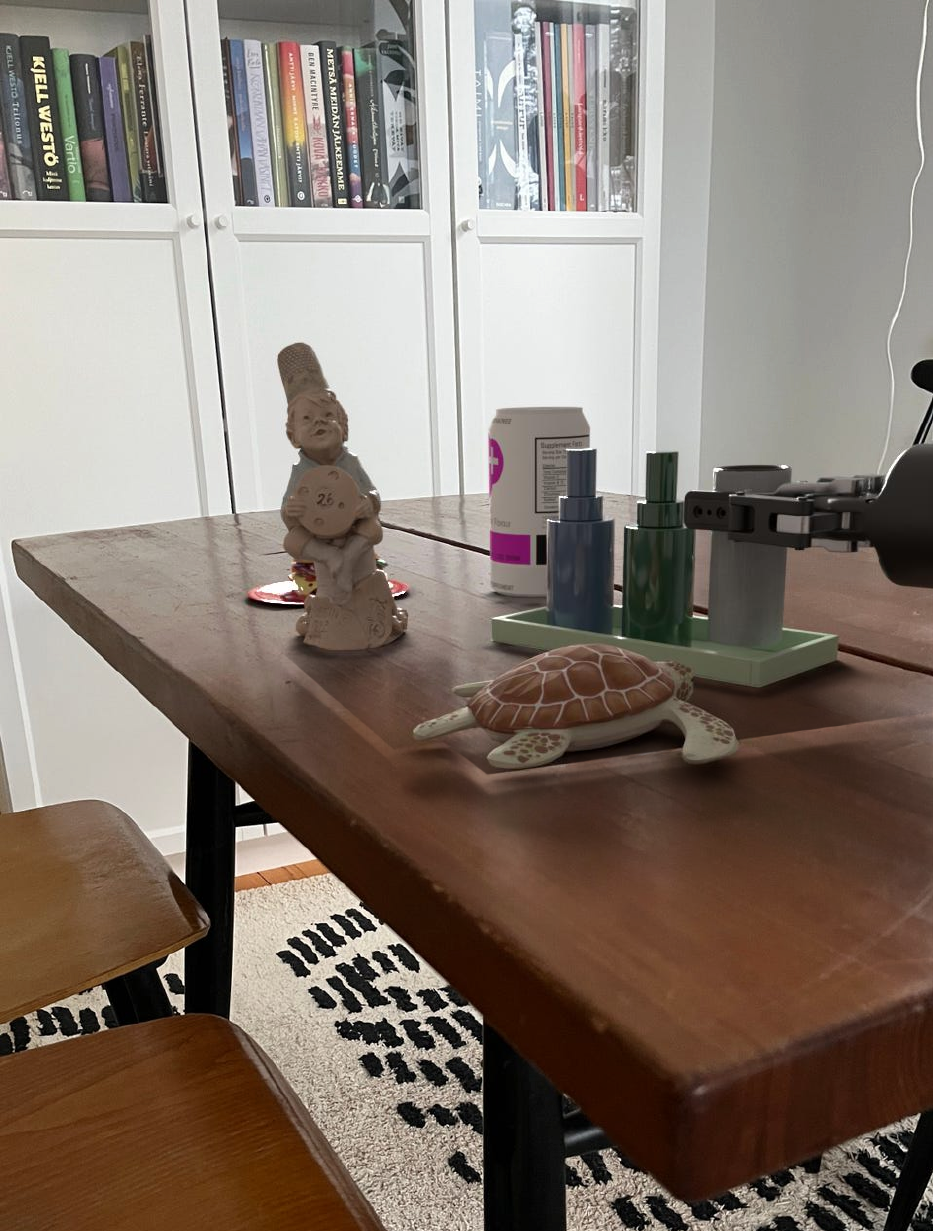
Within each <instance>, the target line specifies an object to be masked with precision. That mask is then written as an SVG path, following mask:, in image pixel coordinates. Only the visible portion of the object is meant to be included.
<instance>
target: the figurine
mask: <svg viewBox="0 0 933 1231" xmlns="http://www.w3.org/2000/svg"><path fill="white" fill-rule="evenodd" d="M276 359H277V361H276V362H277V368H278V372H279V373H278V374H279V376H280V381H281V384H282V387H283V391H284V394H285V398H286V404H287V408H286V415H287V419H286V422H285V427H286V429H285V435H286V437H287V440H288V441H289V443H290V444H291V446H292V447H293V448H294V449H295V450H297V449H299V451H298V452H297V454H298V457H299V461H298V462H296V463H293V464H292V465H291V472H290V477H289V480H288V484H287V486H286V490H285V492H284V495H283V496H282V500H281V506H280V510H279V514H280V518H281V520H282V522H283V524H284V525H285V527H286V529H287V530H288V532H287V533H286V534H285V536H284V538H283V543H282V547H283V549H284V551H285V552H286V554H288V555H289V556H290V557H291V558H292V559H294V558H295V559H303V560H308V561H312V562H313V561H314V566H315V572H316V577H317V578H316V583H317V586H316V587H317V592H316V595H315V596H311V595H308V596H307V597H306V599H305V601H304V604H303V607H304V611H305V612H306V613H303V614H301V615H300V616H299V618H298V619H297V621H296V623H295V632H296V633H297V634H299V635H300V636H301V637H304V639H303V643H304V644H307V645H310V646H316V647H319V648H321V649H325V650H330V651H332V650H333V651H349V650H351V651H352V650H355V651H356V650H367V649H374V648H375V649H376V648H379V647H381V646H385V645H388V644H390V643H392V642H393V641H395V640H396V639H397V638H399V637H400V636H401V635H403V634H404V631H406V630H408V622H409V613H408V611H407V609H406V608H400V607H398V606H397V603H396V600H395V596H393V594H392V591H391V588H390V584H389V582H388V581H387V580H386V577H385V574H384V573H385V572H384V569H383V570H377V567H376V560H375V553H374V550H375V546H377V545H379V544H380V543H382V541H383V538H384V530H383V527H382V525H381V523H380V522H381V518H380V515H379V513H380V512H381V510H382V509H381V508H382V499H381V495H380V493H379V491H378V489H377V487H376V486H375V484H374V483H373V481H372V480H371V478H370V476H369V474H368V473H367V471H366V470H365V468H364V467H363V465H362V463H361V460H360V459H359V456H358V454H356V453H355V454H354V453H353V452H351V451H349V450H348V449H349V447H348V446H347V445H346V444H345V443H346V442H348V441H349V423H348V422H349V416H348V414H347V413H346V409H345V408H344V405H342V403H341V402H340V400H338V399H337V394H336V393H335V392H334V391H333V390H332V389H331V387H330V385H329V383H328V380H327V378H326V375H325V373H324V371H323V368H322V365H321V363H320V361H319V358H318V356H317V354H316V352H315V350H314V348H313V347H312V345H311V344H309V343H306V342H302V341H301V342H294V343H291V344H289V345H287V346H285V347H283V348H282V349H281V350H280V351H279V352H278V354H277V358H276Z"/></svg>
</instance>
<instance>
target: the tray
mask: <svg viewBox="0 0 933 1231" xmlns="http://www.w3.org/2000/svg"><path fill="white" fill-rule="evenodd" d="M707 627H708V616H707V617H706V616H699V615H693V625H692V648H689V647H683V646H677V645H670V644H664V643H658V642H651V641H645V640H639V639H632V638H626V637H621V631H622V605H621V604H614V609H613V635H607V634H600V633H594V632H588V631H581V630H575V629H569V628H562V627H556V626H550V625H547V605H545V606H541V607H537V608H532V609H528V610H522V611H519V612H514V613H510V614H505V615H500V616H497V617H491V641H492V642H493V641H494V642H498V643H504V644H509V645H515V646H520V647H526V648H533V649H537V650H543V651H548V652H549V651H551V650H554V649H558V648H563V647H567V646H572V645H578V644H605V645H610V646H615V647H620V648H622V649H625V650H628V651H631V652H634V653H637V654H640V655H642V656H645V657H646V658H648V659H649V660H651V661H652V662H654V663H655V662H661V661H674V662H678V663H681V664H683V665H685V666H688V667H689V668H691V669H692V670H693V672H694V677H697V678H702V679H707V680H708V679H709V680H714V681H720V682H726V683H731V684H737V685H743V686H747V687H755V688H761V687H764V686H767V685H770V684H773V683H776V682H778V681H781V680H784V679H787V678H790V677H792V676H795V675H799V674H801V673H805V672H806V671H809V670H813V669H815V668H818V667H820V666H824V665H826V664H830V663H832V662H835V661H838V652H839V651H838V650H839V643H840V642H839V641H840V636H839V635H838V634H830V633H825V632H824V633H823V632H818V631H817V632H816V631H809V630H803V629H795V628H787V627H783V630H782V638H781V641H779V642H777V643H775V644H771V645H765V646H748V647H744V646H728V645H721V644H716V643H713V642H711V641H709V640H708V634H707Z"/></svg>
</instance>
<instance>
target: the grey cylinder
mask: <svg viewBox="0 0 933 1231" xmlns="http://www.w3.org/2000/svg"><path fill="white" fill-rule="evenodd" d="M712 472H713V473H712V491H731V492H739V491H744V489H753V491H777V489H778V488H779V487H780V486H781V485H783V484H785V483H788V482H792V476H793V475H792V473H793V468H792V467H791V466H789V465H783V464H782V465H780V464H741V465H739V464H738V465H736V464H735V465H725V466H724V465H723V466H717V467H715V468H714V469H713V471H712ZM727 538H728V532H726V531H711V530H710V552H709V573H708V574H709V576H708V577H709V578H708V604H707V608H708V609H707V617H708V627H707V634H708V640H709V641H711V642H713V643H716V644H721V645H728V646H744V647H748V646H765V645H771V644H775V643H777V642H779V641H781V638H782V630H783V628H784V612H785V594H786V576H787V560H788V547H780V546H773V545H765V544H758V543H750V542H734V540H728V539H727Z"/></svg>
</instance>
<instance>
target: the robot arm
mask: <svg viewBox="0 0 933 1231" xmlns="http://www.w3.org/2000/svg"><path fill="white" fill-rule="evenodd" d="M683 500H684V524H685V526H686V527H687V528H688V529H697V531H698V530H700V531H710V532H711V531H726V532H728V538H727V539H728V540H734V542H750V543H758V544H765V545H773V546H780V547H787V549H794V551H805V549H810V548H823V549H825V550H826V551H827V552H829V553H847V554H849V553H850V554H851V553H858V552H859V551H860V550H859V549H860V548H874V549H875V552H876V555H877V558H878V564H879V566H880V568H881V571H882V572H883V574H884V576H885V577H886V578H887V579H888V580H889V581H890V582H891V583H893V584H895V585H897V586H900V587H909V588H918V589H919V588H920V589H930V590H933V443H916V444H914V445H912V446H909V447H908V448H906V449H905V450H904V451H903V452H901V454H900V455H898V456H897V458H896V459H895V460H894V462H893V464H892V465H891V467H890V468H889V470H888V472H887V475H886V474H880V473H879V474H875V473H869V474H858V475H854V476H838V475H837V476H824V477H823V476H822V477H819V478H818V479H817V480H816V481H815V482H813V481H811V482H810V481H808V480H798V481H791V482H788V483H785V484H783V485H781V486H780V487H779V488H778V489H777V491H753V489H744V491H739V492H731V491H713V490H705V489H704V490H703V489H694V490H691V491H687V493H686V494H685V495H684V499H683Z"/></svg>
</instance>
